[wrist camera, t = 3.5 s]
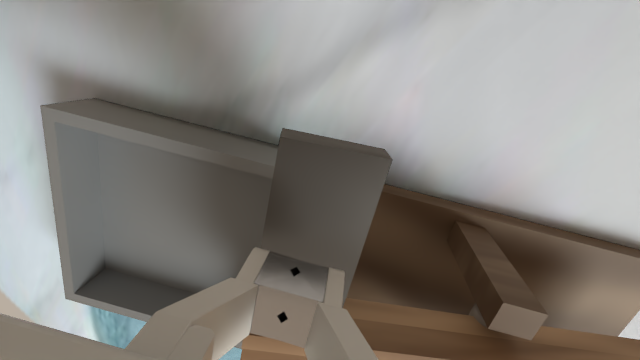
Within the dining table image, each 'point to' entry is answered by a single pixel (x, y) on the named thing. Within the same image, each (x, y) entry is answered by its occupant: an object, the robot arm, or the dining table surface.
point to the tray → (150, 204)
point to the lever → (344, 252)
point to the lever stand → (494, 268)
